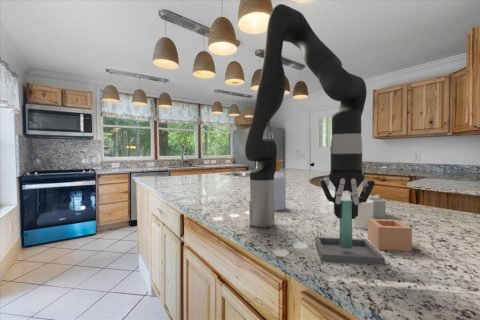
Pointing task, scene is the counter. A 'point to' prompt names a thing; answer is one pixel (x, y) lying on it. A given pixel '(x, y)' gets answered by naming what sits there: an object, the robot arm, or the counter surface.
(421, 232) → the counter surface
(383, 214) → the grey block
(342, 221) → the dowel
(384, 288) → the counter surface
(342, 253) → the tray
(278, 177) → the soap bottle
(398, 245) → the pot
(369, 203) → the white cup
